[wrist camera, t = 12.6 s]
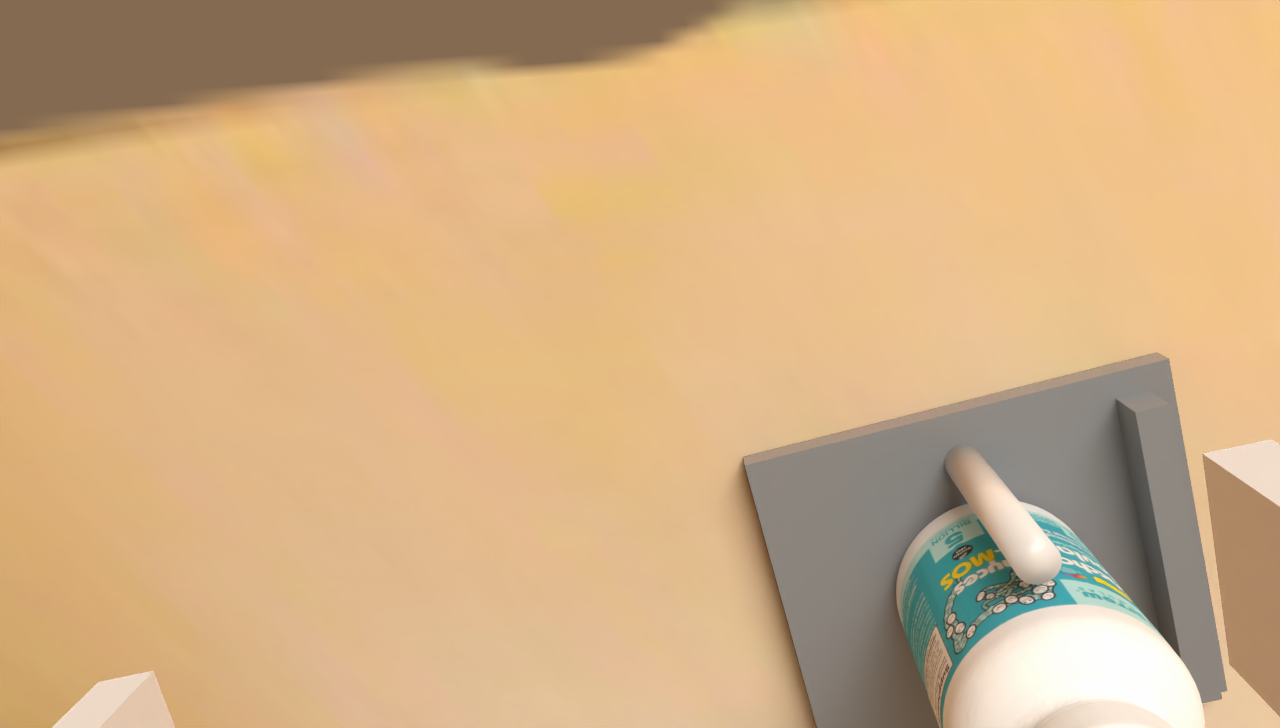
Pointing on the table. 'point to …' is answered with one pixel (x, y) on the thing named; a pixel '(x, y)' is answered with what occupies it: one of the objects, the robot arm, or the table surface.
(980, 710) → the pill bottle
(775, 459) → the grey peg board
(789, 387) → the table surface
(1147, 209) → the table surface
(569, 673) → the table surface
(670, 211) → the table surface
